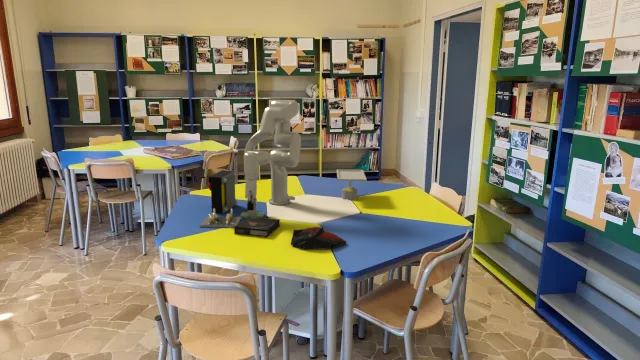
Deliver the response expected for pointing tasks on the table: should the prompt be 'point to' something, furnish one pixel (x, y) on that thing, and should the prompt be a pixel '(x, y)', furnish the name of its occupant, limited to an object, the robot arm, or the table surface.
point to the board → (245, 215)
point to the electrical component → (222, 190)
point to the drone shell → (315, 239)
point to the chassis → (220, 220)
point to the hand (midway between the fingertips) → (251, 207)
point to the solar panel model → (350, 176)
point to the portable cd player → (257, 226)
